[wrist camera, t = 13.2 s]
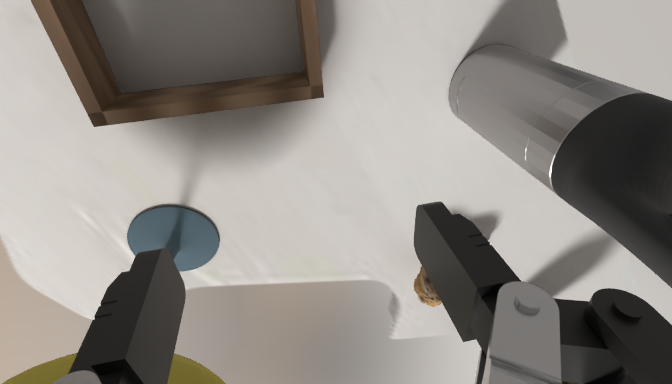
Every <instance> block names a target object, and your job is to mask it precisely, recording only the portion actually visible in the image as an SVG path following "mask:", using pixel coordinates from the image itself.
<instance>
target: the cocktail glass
mask: <svg viewBox="0 0 672 384" xmlns="http://www.w3.org/2000/svg"><path fill="white" fill-rule="evenodd" d="M127 240H128V244H129V247H130V249H131V250H132V252H133V253H134V255H135V256H136V255H137V254H138V253H139V252H143V251H149V250H155V249H161V248H167V249H168V250H169V252H170V254H171V256H172V258H173V260H174V262H175V265H176V267H177V269H178V271H188V270H192V269H196V268H198V267H201V266H203V265H204V264H206V263H207V262H209V261H210V260H211V259H212V258H213V257H214V255H215V254H216V252H217V250H218V247H219V236H218V233H217V230H216V229H215V227H214V225H213V224H212V223H211V222H210V221H209V220H208V219H207V218H206V217H204V216H203V215H201V214H199V213H197V212H195V211H193V210H190V209H187V208H182V207H174V206H166V207H158V208H153V209H151V210H148V211H146V212H144V213H142V214H140V215H139V216H138V217H136V218H135V220H134V221H133V222H132V223H131V225H130V227H129V229H128V233H127ZM76 356H77V353H76V354H72V355H68V356H65V357H61V358H58V359H55V360H52V361H49V362H46V363H43V364H40V365H38V366H35V367H33V368H31V369H29V370H26V371H24V372H23V373H20V374H18V375H16V376H14V377H12V378H10V379H8V380H7V381H5V382H4V383H3V384H52V383H53V382H55V381H56V380H58V379H59V378H61V377H63V376H65V375H67V374H68V373H69V371H70V369H71V366H72V364H73V362H74V360H75V358H76ZM167 384H225V383H224V382H223V380H222V379H221V378H219V377H218V376H217V375H216V374H214V373H213V372H212V371H210V370H209V369H207V368H206V367H204V366H203V365H201V364H199V363H197V362H195V361H193V360H191V359H188V358H185V357H183V356H180V355H176V354H174V355H173V359H172V364H171V369H170V373H169V378H168V383H167Z"/></svg>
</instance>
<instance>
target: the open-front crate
mask: <svg viewBox="0 0 672 384" xmlns="http://www.w3.org/2000/svg"><path fill="white" fill-rule="evenodd" d="M31 2H32V4H33V6H34V8H35V10H36V12H37V14H38V16H39V18H40V20H41V22H42V24H43V26H44V28H45V30H46V32H47V34H48V36H49V38H50V40H51V42H52V44H53V46H54V48H55V50H56V52H57V54H58V56H59V58H60V60H61V62H62V64H63V66H64V68H65V70H66V72H67V74H68V76H69V78H70V80H71V82H72V84H73V86H74V88H75V90H76V92H77V94H78V96H79V98H80V100H81V102H82V104H83V106H84V108H85V110H86V112H87V114H88V116H89V118H90V120H91V122H92V124H93V126H94V127H97V126H105V125H113V124H120V123H128V122H136V121H144V120H151V119H159V118H167V117H175V116H183V115H190V114H198V113H206V112H214V111H221V110H229V109H237V108H245V107H253V106H260V105H268V104H276V103H284V102H291V101H299V100H307V99H315V98H323V97H324V93H323V82H322V71H321V59H320V48H319V36H318V25H317V14H316V2H315V0H296V8H297V17H298V25H299V34H300V43H301V51H302V60H303V68H304V72H299V73H291V74H283V75H274V76H266V77H257V78H249V79H241V80H232V81H224V82H215V83H207V84H199V85H190V86H182V87H173V88H165V89H157V90H148V91H140V92H131V93H123V94H121V92H120V90H119V87H118V85H117V83H116V80H115V78H114V76H113V73H112V71H111V68H110V66H109V64H108V61H107V59H106V57H105V54H104V52H103V50H102V47H101V45H100V43H99V40H98V38H97V36H96V33H95V31H94V29H93V26H92V24H91V22H90V19H89V17H88V15H87V12H86V10H85V7H84V5H83V3H82V0H31Z"/></svg>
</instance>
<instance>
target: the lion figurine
mask: <svg viewBox="0 0 672 384" xmlns="http://www.w3.org/2000/svg"><path fill="white" fill-rule="evenodd" d="M489 244H490V242H489ZM414 290H415V292H416V293H417V295H418V298H419V300H420V301H421V302H422V303H426V304H427V305H430V306H432V307H435V306H437V305H440V304H441V303H442V301H441V300H440V298H439V296H438V294H437V292H436V290H435V288H434V287H433V285H432V283H431V281H430V279H429V277H428V276H427V274H426V272H425V270H424V268H423V266H422V267H421V271H420V273H419V274H418V275H417V278H416V279H415V282H414Z"/></svg>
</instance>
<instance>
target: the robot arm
mask: <svg viewBox="0 0 672 384" xmlns="http://www.w3.org/2000/svg"><path fill="white" fill-rule="evenodd" d="M449 102H450V107H451V109H452V111H453V113H454V114H455V115H456V116H457V117H458V118H459V119H460V120H462V121H463V122H464V123H466V124H467V125H468V126H469V127H471V128H472V129H473V130H474V131H476V132H477V133H478V134H479V135H481V136H482V137H483V138H485V139H486V140H487V141H488V142H490V143H491V144H492V145H494V146H495V147H496V148H497V149H499V150H500V151H501V152H503V153H504V154H505V155H506V156H508V157H509V158H510V159H512V160H513V161H514V162H515V163H517V164H518V165H519V166H520V167H522V168H523V169H524V170H526V171H527V172H528V173H529V174H531V175H532V176H533V177H535V178H536V179H537V180H539V181H540V182H541V183H543V184H544V185H545V186H546V187H548V188H549V189H550V190H552V191H553V192H554V193H555V194H557V195H558V196H559V197H560V198H562V199H563V200H564V201H566V202H567V203H568V204H570V205H571V206H573V207H574V208H575V209H577V210H578V211H579V212H581V213H582V214H583V215H585V216H586V217H587V218H589V219H590V220H592V221H593V222H594V223H596V224H597V225H598V226H599V227H601V228H602V229H603V230H605V231H606V232H607V233H608V234H610V235H611V236H612V237H614V238H615V239H616V240H617V241H618V242H619V243H621V244H622V245H623V246H624V247H625V248H627V249H628V250H629V251H630V252H631V253H633V254H634V255H635V256H636V257H637V258H638V259H639V260H641V261H642V262H643V263H644V264H645V265H646V266H648V267H649V268H650V269H651V270H652V271H653V272H654V273H655V274H657V275H658V276H659V277H660V278H661V279H662V280H663V281H665V282H666V283H667V284H668V285H669V286H670V287H671V288H672V101H671V100H668V99H664V98H662V97H659V96H655V95H652V94H649V93H646V92H643V91H640V90H637V89H634V88H631V87H628V86H625V85H622V84H619V83H616V82H612V81H609V80H606V79H604V78H601V77H598V76H595V75H592V74H589V73H586V72H583V71H580V70H577V69H574V68H571V67H568V66H565V65H562V64H560V63H557V62H554V61H551V60H548V59H545V58H542V57H539V56H536V55H533V54H530V53H528V52H525V51H522V50H519V49H516V48H513V47H510V46H507V45H502V44H493V45H488V46H485V47H482V48H480V49H478V50H477V51H475V52H473V53H472V54H471V55H470V56H468V57H467V58H466V59H465V60H464V61H463V62H462V64H461V65H460V66H459V67H458V69H457V71H456V72H455V74H454V76H453V79H452V81H451V84H450V89H449ZM414 247H415V251H416V254H417V257H418V259H419V261H420V263H421V264H422V266H423V268H424V270H425V272H426V274H427V276H428V277H429V279H430V281H431V283H432V285H433V287H434V288H435V290H436V292H437V294H438V296H439V298H440V300H441V301H442V303H443V305H444V307H445V309H446V311H447V312H448V314H449V316H450V318H451V320H452V322H453V324H454V325H455V327H456V329H457V331H458V333H459V335H460V336H461V338H462V340H463V342H465V341H470V340H475V339H477V341H478V343H479V345H480V346H481V351H480V355H479V361H478V367H477V373H476V379H475V384H562V381H565V382H568V383H569V384H672V325H671V324H670V323H669V322H668V321H667V320H666V319H664V318H663V317H662V316H661V315H660V314H659V313H658V312H657V311H656V310H655V309H654V308H653V307H652V306H651V305H649V304H648V303H647V302H646V301H644V300H643V299H641V298H639V297H637V296H635V295H633V294H631V293H629V292H626V291H622V290H618V289H610V288H608V289H601V290H598V291H596V292H595V293H594V294H593V296H592V298H591V300H590V302H587V301H575V300H563V299H554V298H552V296H550V295H549V294H548V293H547V292H546V291H544V290H543V289H541V288H540V287H538V286H535V285H533V284H530V283H526V282H522V281H521V280H520V279H519V278H518V277H517V276H516V274H515V273H514V272H513V271H512V270H511V268H510V267H509V266H508V265H507V264H506V262H505V261H504V260H503V259H502V257H501V256H500V255H499V254H498V253H497V251H496V250H495V249H494V248H493V247H492V245H490V244H489V242H488V240H487V239H486V238H485V237H484V236H482V233H481V232H480V231H479V230H478V228H477V227H476V226H475V225H474V223H473V222H471V221H470V220H468V219H466V218H465V217H463V216H462V215H460V214H455V215H452V214H451V213H450V212H449V210H448V209H447V208H446V206H445V205H444V204H443V203H442V202H434V203H428V204H422V205H418V206H417V209H416V219H415V231H414ZM184 304H185V286H184V282H183V280H182V277H181V275H180V273H179V271H178V269H177V267H176V265H175V262H174V260H173V258H172V256H171V254H170V252H169V250H168V249H167V248H161V249H155V250H149V251H143V252H139V253H138V254H137V255H136V257H135V259H134V262H133V264H132V266H131V269H130V271H128V272H122V273H121V274H120V275H119V276H118V277H117V278H116V279H115V280H114V281H113V282H112V284H111V285H110V286H109V287H108V288H107V290H106V293H105V295H104V297H103V299H102V301H101V306H99V308H98V310H97V312H96V314H95V320H93V321H92V323H91V325H90V328H89V330H88V332H87V334H86V336H85V338H84V341H83V343H82V345H81V347H80V349H79V351H78V353H77V356H76V358H75V360H74V362H73V364H72V366H71V369H70V371H69V373H68V374H67V375H65V376H63V377H61V378H59V379H58V380H56V381H55V382H53V383H52V384H167V383H168V378H169V373H170V369H171V364H172V359H173V355H174V350H175V345H176V340H177V336H178V331H179V327H180V322H181V318H182V313H183V308H184Z"/></svg>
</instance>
